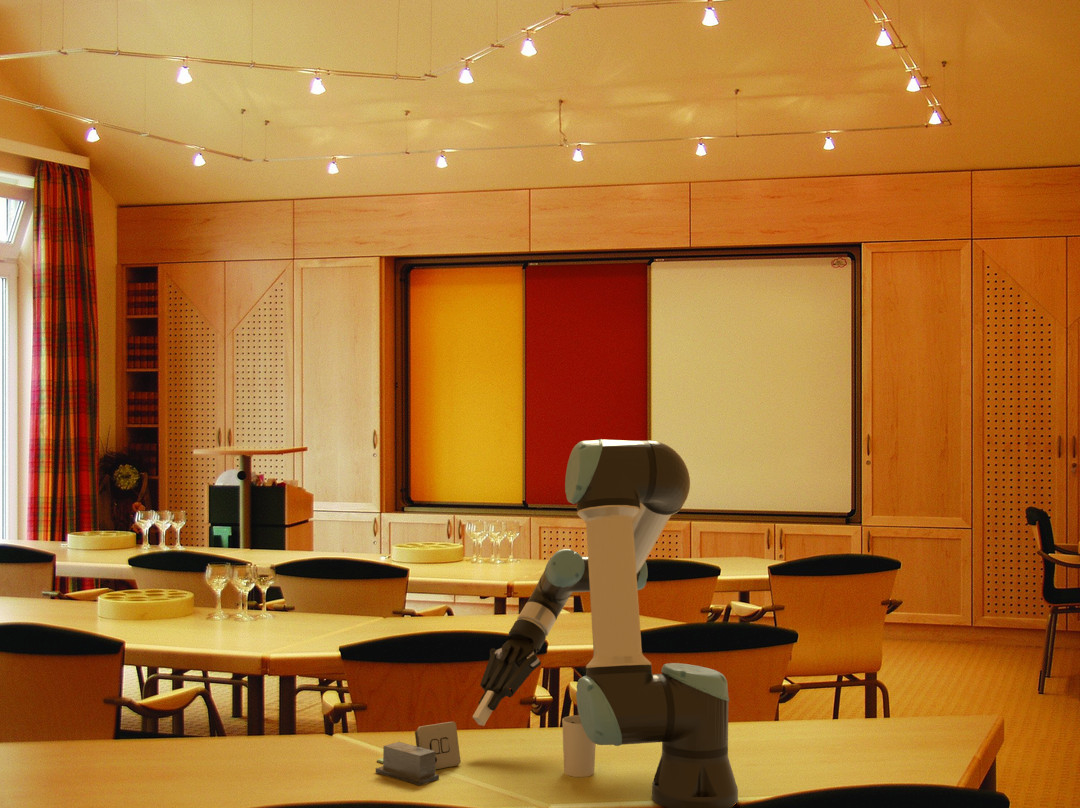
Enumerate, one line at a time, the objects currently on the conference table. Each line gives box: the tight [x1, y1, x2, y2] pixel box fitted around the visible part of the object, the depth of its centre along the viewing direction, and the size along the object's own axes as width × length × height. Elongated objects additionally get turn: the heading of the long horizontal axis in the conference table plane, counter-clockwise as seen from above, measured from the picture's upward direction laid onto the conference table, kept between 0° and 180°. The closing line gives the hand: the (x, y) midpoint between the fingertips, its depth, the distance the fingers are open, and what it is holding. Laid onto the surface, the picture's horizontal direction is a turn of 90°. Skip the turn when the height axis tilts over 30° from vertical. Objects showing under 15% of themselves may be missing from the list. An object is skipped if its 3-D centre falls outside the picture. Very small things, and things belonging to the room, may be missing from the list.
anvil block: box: [375, 741, 440, 786], centre depth 204 cm, size 12×5×5 cm, turn 50°
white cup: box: [561, 715, 597, 778], centre depth 207 cm, size 7×7×10 cm
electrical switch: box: [414, 721, 462, 770], centre depth 211 cm, size 8×5×8 cm, turn 124°
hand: (478, 721), depth 219 cm, fingers closed
